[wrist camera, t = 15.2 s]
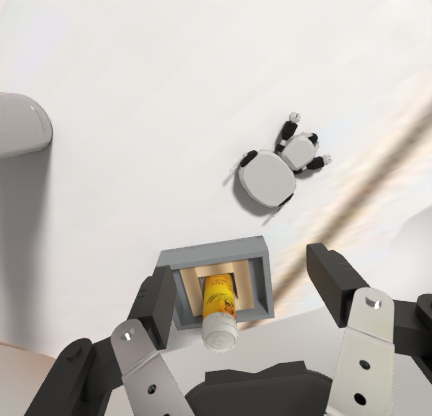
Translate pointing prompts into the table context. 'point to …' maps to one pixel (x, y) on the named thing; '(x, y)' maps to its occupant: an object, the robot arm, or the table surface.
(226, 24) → the table surface
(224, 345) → the beer can
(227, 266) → the plate
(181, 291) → the open-top box
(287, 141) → the robot toy
